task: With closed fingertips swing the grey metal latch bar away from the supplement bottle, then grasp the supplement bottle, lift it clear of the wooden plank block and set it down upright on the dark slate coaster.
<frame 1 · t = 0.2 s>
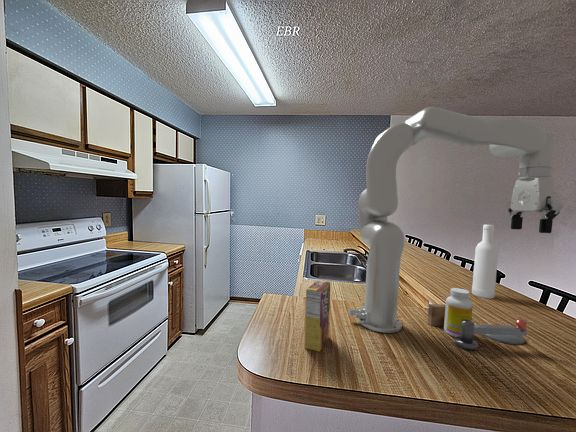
hand: (529, 230, 84), 30 cm above the worktop, fingers open, 9 cm apart
lever: (491, 332, 74), point 4 cm above the worktop, hinge at 0.0°
wooden plank block: (448, 324, 87), on the worktop
candy box: (316, 343, 73), on the worktop
bottle: (482, 295, 117), on the worktop
coaster: (500, 334, 81), on the worktop
supplement bottle: (456, 334, 81), on the worktop
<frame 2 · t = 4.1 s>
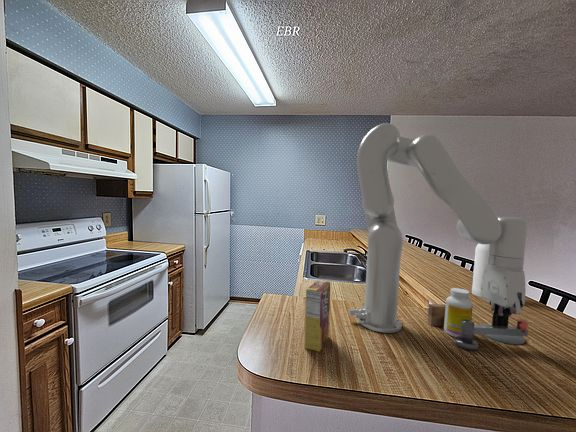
hand: (499, 328, 76), 4 cm above the worktop, fingers closed
lever: (491, 332, 73), point 4 cm above the worktop, hinge at -1.5°, touching gripper
everything else where it was.
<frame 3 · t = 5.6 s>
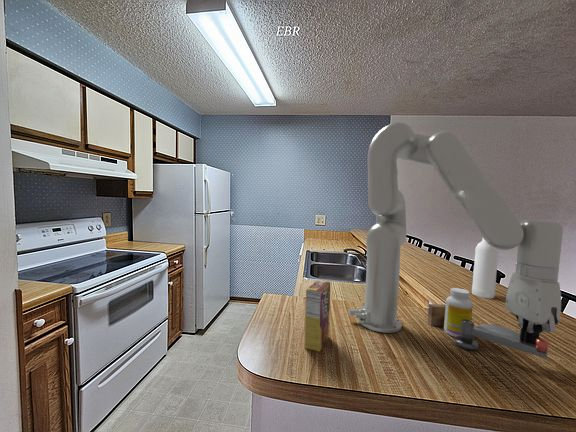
hand: (528, 346, 67), 4 cm above the worktop, fingers closed
lever: (497, 341, 69), point 4 cm above the worktop, hinge at -46.4°, touching gripper
everything else where it was.
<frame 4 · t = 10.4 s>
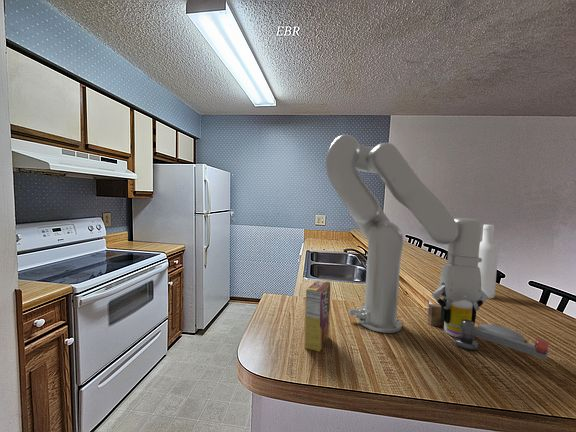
hand: (457, 321, 80), 4 cm above the worktop, fingers closed on supplement bottle, 6 cm apart
lever: (497, 341, 69), point 4 cm above the worktop, hinge at -48.1°
supplement bottle: (456, 334, 81), on the worktop, touching gripper
everything else where it was.
when the fingers open (6 cm above the worktop, at t = 15.3 s): supplement bottle drops 1 cm, resting on coaster.
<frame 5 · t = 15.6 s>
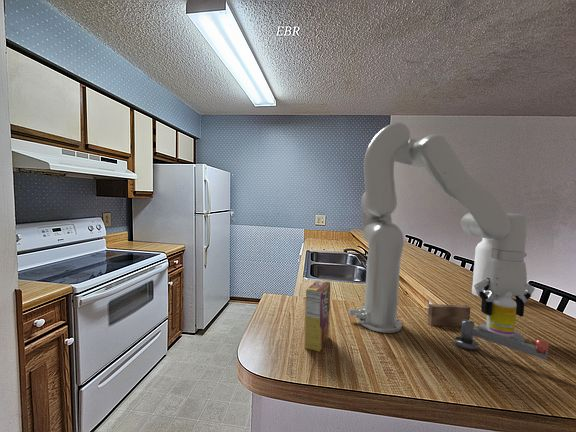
hand: (501, 314, 81), 6 cm above the worktop, fingers open, 9 cm apart
supplement bottle: (499, 333, 81), resting on coaster
everything else where it was.
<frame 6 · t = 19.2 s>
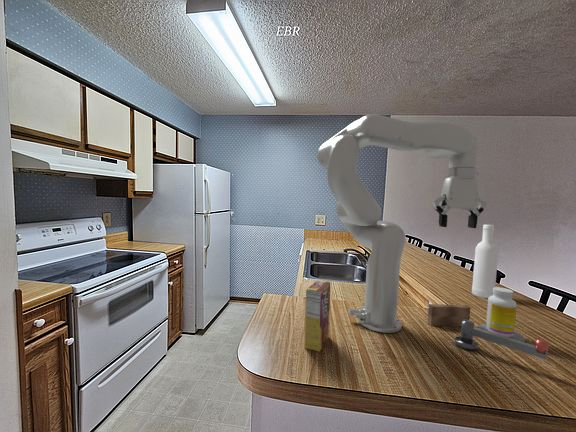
hand: (457, 227, 90), 30 cm above the worktop, fingers open, 9 cm apart
nothing on the worktop moved.
at the end: lever at -48° (first picture: +0°); supplement bottle inside the target area on the coaster (0.3 cm from its centre), point 0.4 cm above the coaster's base; supplement bottle tilted 0° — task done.
